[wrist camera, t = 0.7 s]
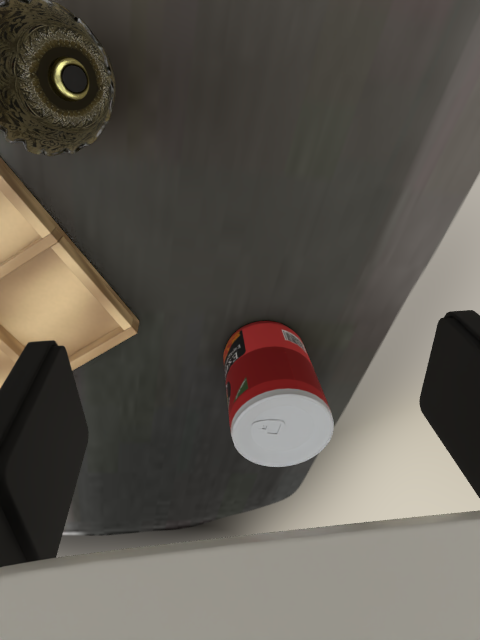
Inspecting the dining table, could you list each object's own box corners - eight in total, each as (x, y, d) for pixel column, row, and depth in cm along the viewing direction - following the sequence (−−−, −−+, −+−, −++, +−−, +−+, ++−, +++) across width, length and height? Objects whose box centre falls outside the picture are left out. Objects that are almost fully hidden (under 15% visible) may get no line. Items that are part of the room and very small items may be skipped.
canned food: (221, 320, 40) (230, 398, 31) (305, 315, 41) (340, 390, 31) (223, 385, 44) (232, 472, 34) (300, 380, 44) (330, 464, 35)
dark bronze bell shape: (121, 150, 32) (102, 172, 25) (15, 121, 30) (-37, 136, 23) (138, 34, 28) (121, 23, 22) (19, -6, 27) (-41, -31, 20)
